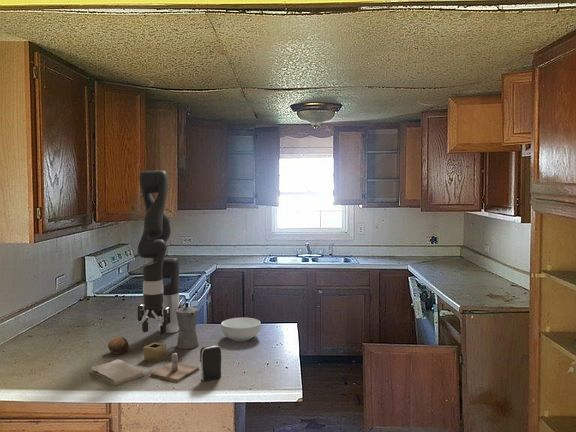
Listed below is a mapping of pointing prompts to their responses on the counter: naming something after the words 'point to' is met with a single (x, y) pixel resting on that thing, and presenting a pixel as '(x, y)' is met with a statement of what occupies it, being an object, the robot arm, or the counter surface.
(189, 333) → the coffeepot
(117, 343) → the brown round lump
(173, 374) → the post base
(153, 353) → the collar
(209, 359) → the battery charger
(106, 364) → the washcloth
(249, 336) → the cereal bowl
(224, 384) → the counter surface
